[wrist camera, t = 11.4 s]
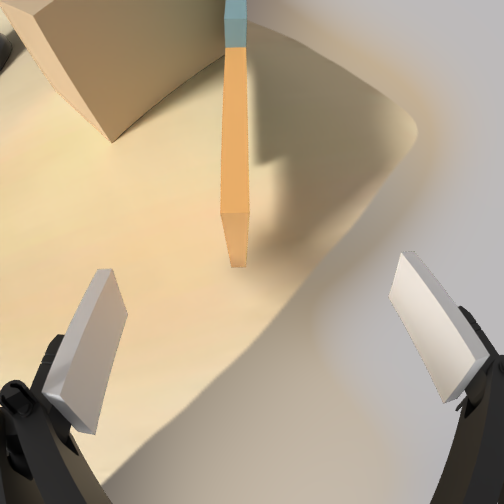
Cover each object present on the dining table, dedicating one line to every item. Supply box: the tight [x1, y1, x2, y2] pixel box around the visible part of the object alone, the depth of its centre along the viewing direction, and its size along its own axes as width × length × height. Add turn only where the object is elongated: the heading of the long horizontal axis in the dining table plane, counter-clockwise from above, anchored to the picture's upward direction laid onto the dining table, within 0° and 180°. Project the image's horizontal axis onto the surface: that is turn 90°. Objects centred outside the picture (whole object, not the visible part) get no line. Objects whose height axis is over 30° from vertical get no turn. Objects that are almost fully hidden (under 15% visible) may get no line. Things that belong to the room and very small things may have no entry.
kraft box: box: [0, 0, 226, 143], centre depth 17 cm, size 12×14×14 cm
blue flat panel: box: [220, 0, 250, 267], centre depth 15 cm, size 1×21×12 cm, turn 2°
